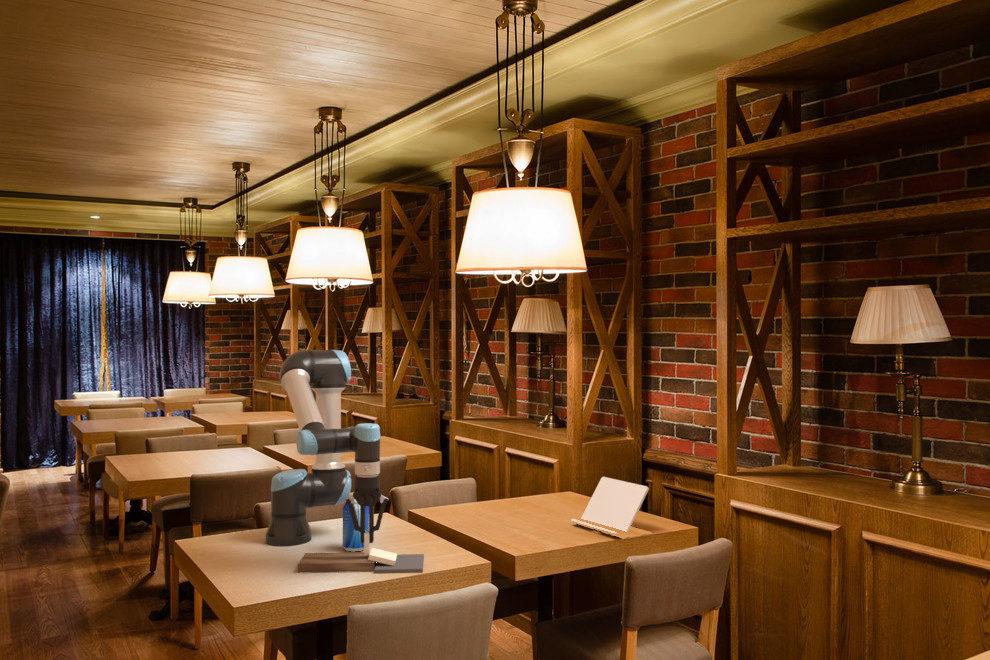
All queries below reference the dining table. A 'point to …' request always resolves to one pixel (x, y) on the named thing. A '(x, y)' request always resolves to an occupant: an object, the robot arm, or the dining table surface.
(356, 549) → the beer can
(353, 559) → the serving board
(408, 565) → the mat
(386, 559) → the cream flat block
